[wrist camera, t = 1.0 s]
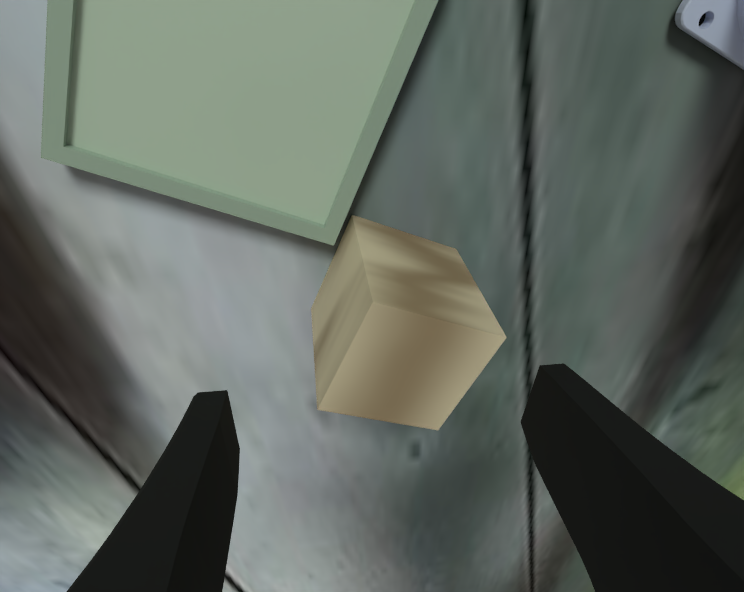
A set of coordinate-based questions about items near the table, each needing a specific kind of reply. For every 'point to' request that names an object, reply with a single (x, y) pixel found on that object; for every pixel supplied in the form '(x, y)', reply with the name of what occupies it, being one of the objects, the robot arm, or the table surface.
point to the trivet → (229, 99)
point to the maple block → (398, 328)
